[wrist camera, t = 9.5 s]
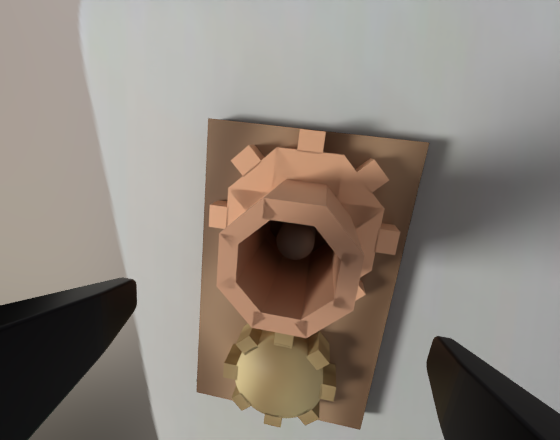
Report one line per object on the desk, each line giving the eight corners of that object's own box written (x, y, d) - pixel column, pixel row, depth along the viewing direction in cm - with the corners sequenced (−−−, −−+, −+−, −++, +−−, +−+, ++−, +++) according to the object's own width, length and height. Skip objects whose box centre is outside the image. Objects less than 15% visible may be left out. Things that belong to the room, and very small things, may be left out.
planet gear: (412, 142, 16) (479, 139, 9) (374, 314, 19) (402, 415, 12) (222, 121, 18) (151, 106, 11) (214, 286, 21) (154, 361, 14)
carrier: (420, 142, 18) (466, 141, 12) (358, 412, 23) (368, 499, 18) (217, 120, 19) (170, 109, 13) (204, 377, 25) (167, 447, 19)
